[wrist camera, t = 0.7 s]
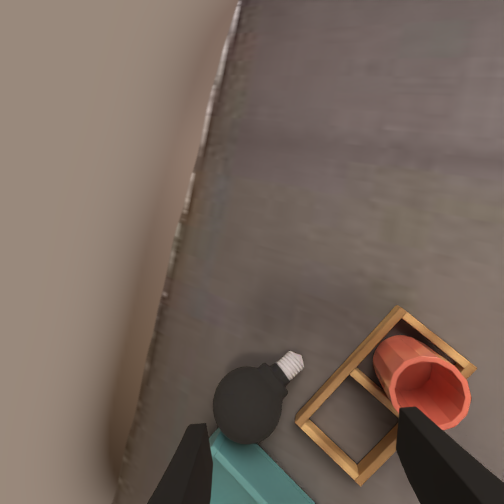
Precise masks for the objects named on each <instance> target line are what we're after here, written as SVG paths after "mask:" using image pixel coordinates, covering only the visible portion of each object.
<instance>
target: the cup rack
mask: <svg viewBox="0 0 504 504" xmlns="http://www.w3.org/2000/svg"><path fill="white" fill-rule="evenodd" d="M401 318H402V319H403V320H404V321H406V322H407V323H408V324H409V325H410V326H412V327H413V328H414V329H415V330H417V331H418V332H419V333H420V334H422V335H423V336H424V337H425V338H426V339H428V340H429V341H430V342H431V343H433V344H434V345H435V346H436V347H438V348H439V349H440V350H441V351H443V352H444V353H445V354H446V355H447V356H449V357H450V358H451V359H452V360H454V361H455V362H456V364H455V365H454V366H455V367H456V368H457V369H458V370H459V371H460V373H461V374H462V375H463V376H464V377H465V379H467V378H468V377H469V376H470V375H471V374H472V373H473V372H474V371H475V370H476V369H477V368H476V367H475V366H474V365H473V364H471V363H470V362H469V361H468V360H466V359H465V358H464V357H463V356H461V355H460V354H459V353H458V352H456V351H455V350H454V349H453V348H451V347H450V346H449V345H448V344H446V343H445V342H444V341H443V340H441V339H440V338H439V337H438V336H436V335H435V334H434V333H433V332H431V331H430V330H429V329H428V328H426V327H425V326H424V325H423V324H421V323H420V322H419V321H418V320H416V319H415V318H414V317H413V316H412V315H410V314H409V313H408V312H406V311H405V310H404V309H403V308H401V307H400V306H398V305H396V306H395V307H394V308H393V309H392V310H391V311H390V313H389V314H388V315H387V316H386V317H385V318H384V319H383V320H382V321H381V322H380V323H379V325H378V326H377V327H376V328H375V329H374V330H373V331H372V332H371V333H370V334H369V335H368V337H367V338H366V339H365V340H364V341H363V342H362V343H361V344H360V345H359V346H358V347H357V349H356V350H355V351H354V352H353V353H352V354H351V355H350V356H349V357H348V358H347V359H346V361H345V362H344V363H343V364H342V365H341V366H340V367H339V368H338V369H337V370H336V371H335V373H334V374H333V375H332V376H331V377H330V378H329V379H328V380H327V381H326V382H325V383H324V385H323V386H322V387H321V388H320V389H319V390H318V391H317V392H316V393H315V394H314V395H313V397H312V398H311V399H310V400H309V401H308V402H307V403H306V404H305V405H304V406H303V407H302V409H301V410H300V411H299V412H298V413H297V414H296V417H295V423H296V424H297V425H298V426H299V427H301V429H302V430H303V431H304V432H305V433H306V434H307V435H308V436H309V437H310V438H311V439H312V440H313V441H314V442H315V443H316V444H317V445H318V446H320V447H321V448H322V449H323V450H324V451H325V452H326V453H327V454H328V455H329V456H330V457H331V458H332V459H333V460H334V461H335V462H336V463H337V464H338V465H339V466H340V467H341V468H342V469H343V470H344V471H345V472H346V473H347V474H348V475H349V476H350V477H352V478H353V479H354V480H355V482H356V483H357V484H359V485H360V486H362V485H363V484H364V483H365V482H366V480H367V479H368V478H369V477H370V476H371V475H372V474H373V473H374V472H375V471H376V470H377V469H378V468H379V467H380V466H381V465H382V464H383V463H384V462H385V461H386V460H387V459H388V458H389V457H390V456H391V455H392V454H393V453H394V452H395V451H396V441H397V429H398V423H397V424H396V426H395V427H394V428H393V429H392V430H391V431H390V432H389V433H388V434H387V435H386V436H385V437H384V438H383V439H382V440H381V441H380V442H379V443H378V444H377V445H376V446H375V447H374V448H373V449H372V450H371V451H370V452H369V453H368V454H367V455H366V456H365V457H364V458H363V459H362V460H361V461H360V462H359V463H358V464H356V463H355V462H354V461H353V460H352V459H350V458H349V457H348V456H347V455H346V454H345V453H344V452H343V451H342V450H341V449H340V448H339V447H338V446H337V445H336V444H335V443H334V442H333V441H332V440H331V439H330V438H328V437H327V436H326V435H325V434H324V433H323V432H322V431H321V430H320V429H319V428H318V427H317V426H316V425H315V424H314V423H313V422H312V421H311V420H310V419H309V418H310V417H311V415H312V414H313V413H314V412H315V411H316V410H317V409H318V408H319V407H320V406H321V405H322V404H323V402H324V401H325V400H326V399H327V398H328V397H329V396H330V395H331V394H332V393H333V392H334V391H335V390H336V388H337V387H338V386H339V385H340V384H341V383H342V382H343V381H344V380H345V379H346V378H347V377H348V375H349V374H350V375H351V376H352V377H353V378H354V379H355V380H356V381H357V382H359V383H360V384H361V385H362V386H363V387H364V388H365V389H366V390H368V391H369V392H370V393H371V394H372V395H373V396H374V397H376V398H377V399H378V400H379V401H380V402H381V403H382V404H383V405H385V406H386V407H387V408H388V409H389V410H390V411H391V412H392V413H394V414H395V415H396V416H397V417H398V418H399V413H398V412H397V411H396V409H395V408H394V407H393V405H392V404H391V402H390V400H389V398H388V396H387V394H386V393H385V392H384V391H383V390H382V389H381V388H380V387H378V386H377V385H376V384H375V383H374V382H373V381H372V380H370V379H369V378H368V377H367V376H366V375H365V374H364V373H362V372H361V371H360V370H359V369H358V368H357V366H358V365H359V364H360V362H361V361H362V360H363V359H364V358H365V357H366V356H367V355H368V354H369V353H370V352H371V351H372V350H373V348H374V347H375V346H376V345H377V344H378V343H379V342H380V341H381V340H382V339H383V338H384V337H385V335H386V334H387V333H388V332H389V331H390V330H391V329H392V328H393V327H394V326H395V325H396V324H397V323H398V321H399V320H400V319H401Z"/></svg>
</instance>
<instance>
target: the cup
mask: <svg viewBox="0 0 504 504" xmlns="http://www.w3.org/2000/svg"><path fill="white" fill-rule="evenodd" d="M373 366H374V370H375V373H376V376H377V378H378V380H379V381H380V383H381V385H382V387H383V389H384V391H385V392H386V394H387V396H388V398H389V400H390V402H391V404H392V405H393V407H394V408H395V409H396V411H397V412H398V413H399V408H401V407H413V406H416V407H417V408H418V409H420V410H421V411H422V412H423V413H424V414H425V415H426V416H427V417H428V418H430V419H431V420H432V421H433V422H434V423H435V424H436V425H437V426H438V427H440V428H441V429H442V430H446V429H449V428H452V427H455V426H456V425H457V424H458V423H459V422H460V421H461V420H462V419H463V418H464V417H465V416H466V415H467V413H468V410H469V406H470V402H471V394H470V390H469V386H468V382H467V380H466V379H465V377H464V376H463V375H462V374H461V373H460V371H459V370H458V369H457V368H456V367H455V366H454V365H453V364H451V363H450V362H449V361H447V360H446V359H445V358H443V357H442V356H441V355H439V354H438V353H437V352H435V351H434V350H432V349H431V348H430V347H428V346H427V345H426V344H424V343H422V342H421V341H419V340H417V339H416V338H413V337H410V336H406V335H396V336H391V337H389V338H387V339H385V340H384V341H382V342H381V343H380V344H379V345H378V347H377V348H376V350H375V352H374V356H373Z"/></svg>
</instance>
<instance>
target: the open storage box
mask: <svg viewBox="0 0 504 504" xmlns="http://www.w3.org/2000/svg"><path fill="white" fill-rule="evenodd" d="M209 443H210V448H211V454H212V460H213V474H212V489H211V500H210V504H315V503H314V502H313V501H312V499H311V498H310V497H309V496H308V495H307V494H306V493H305V492H304V491H303V490H302V489H301V488H300V487H299V486H298V485H297V484H296V483H295V482H294V481H293V480H292V479H291V478H290V477H289V476H288V475H287V474H286V473H285V472H284V471H283V470H282V469H281V468H280V467H279V466H278V465H277V464H276V463H275V462H274V461H273V460H272V459H271V458H270V457H269V456H268V455H267V454H266V453H265V452H264V451H263V450H262V449H261V448H260V447H259V446H258V444H257V443H255V444H240V443H236V442H234V441H232V440H230V439H229V438H227V437H226V436H225V435H224V434H223V433H222V431H221V430H220V428H218V429H217V430H216V431H215V432H214V433H213V434H212V435H211V437H210V438H209Z"/></svg>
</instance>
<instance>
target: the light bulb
mask: <svg viewBox="0 0 504 504" xmlns="http://www.w3.org/2000/svg"><path fill="white" fill-rule="evenodd" d="M302 368H304V364H303V360H302V356H301V355H299V354H296V353H294V352H292V351H288V353H286V355H284V356H283V358H282V357H281V360H278V362H276V363H275V364H273V365H272V366H268V365H267V364H266V363H264V364H262V365H261V366H260V367H258V368H254V367H241V368H238V369H235V370H233V371H231V372H230V373H228V374H227V375H226V376H225V377H224V378H223V379H222V380H221V382H220V383H219V385H218V387H217V389H216V392H215V395H214V400H213V412H214V417H215V420H216V423H217V425H218V427H219V428H220V430H221V431H222V433H223V434H224V435H225V436H226V437H227V438H229V439H230V440H232V441H234V442H236V443H240V444H255V443H258V442H260V441H262V440H264V439H265V438H267V437H268V436H269V435H270V434H271V433H272V432H273V431H274V429H275V428H276V426H277V424H278V422H279V419H280V416H281V410H282V399H283V398H284V397H285V396H286V395H287V394H288V391H287V389H286V385H287V384H288V383H289V382H290V379H292V377H295V375H297V373H298V372H299V373H300V370H301V371H302Z"/></svg>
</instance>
